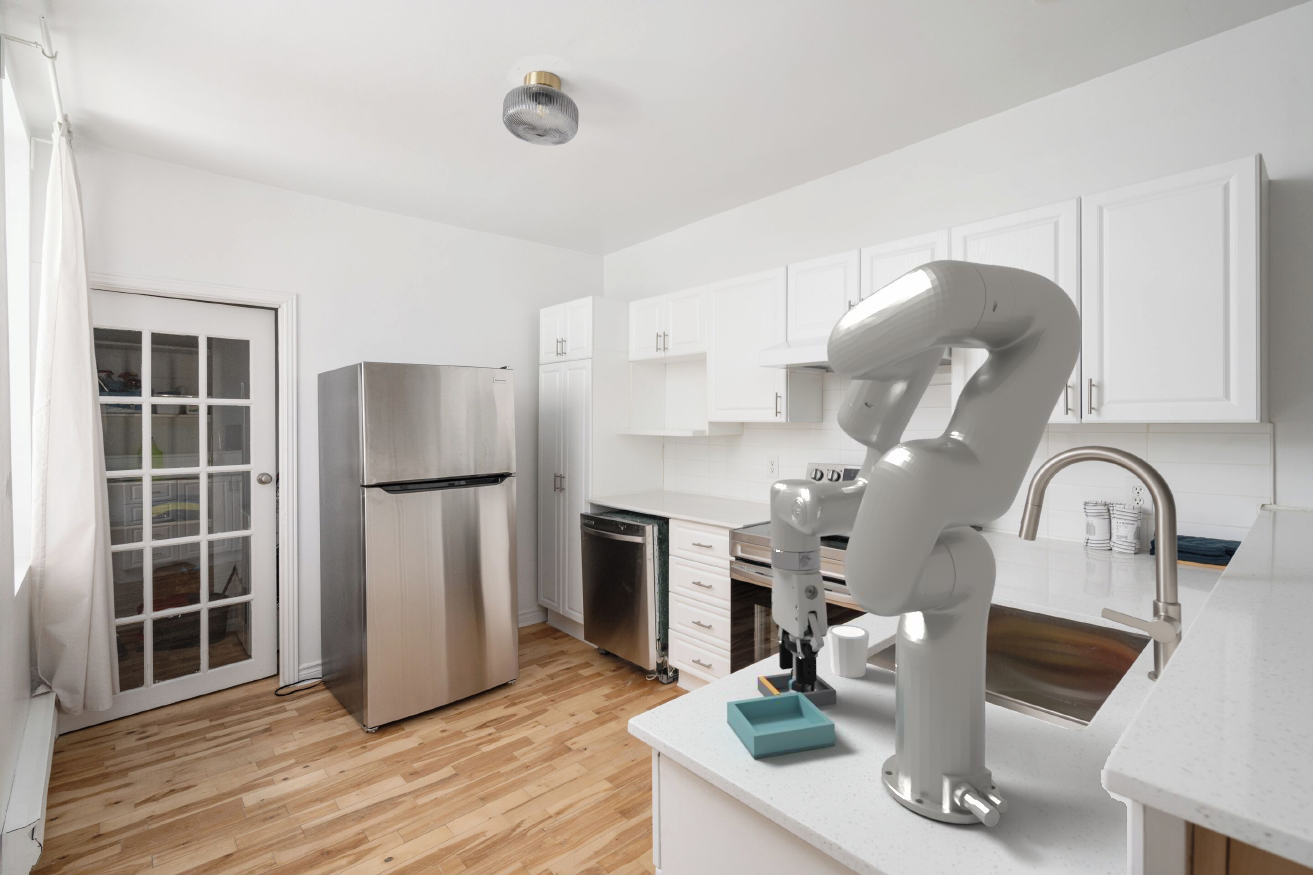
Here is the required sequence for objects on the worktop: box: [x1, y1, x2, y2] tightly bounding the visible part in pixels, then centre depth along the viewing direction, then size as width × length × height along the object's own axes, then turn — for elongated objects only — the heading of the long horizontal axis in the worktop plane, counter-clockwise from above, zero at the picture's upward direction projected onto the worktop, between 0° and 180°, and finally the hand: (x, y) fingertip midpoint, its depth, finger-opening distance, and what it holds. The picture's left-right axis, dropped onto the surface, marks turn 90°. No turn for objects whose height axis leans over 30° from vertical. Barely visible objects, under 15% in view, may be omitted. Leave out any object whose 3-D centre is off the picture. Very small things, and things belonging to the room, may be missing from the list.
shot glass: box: [827, 624, 870, 679], centre depth 104 cm, size 7×7×7 cm
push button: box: [784, 632, 816, 694], centre depth 94 cm, size 7×5×10 cm
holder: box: [757, 672, 837, 707], centre depth 95 cm, size 8×10×2 cm
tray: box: [726, 692, 836, 760], centre depth 84 cm, size 10×12×3 cm
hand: (797, 673), depth 94 cm, fingers closed on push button, 4 cm apart
